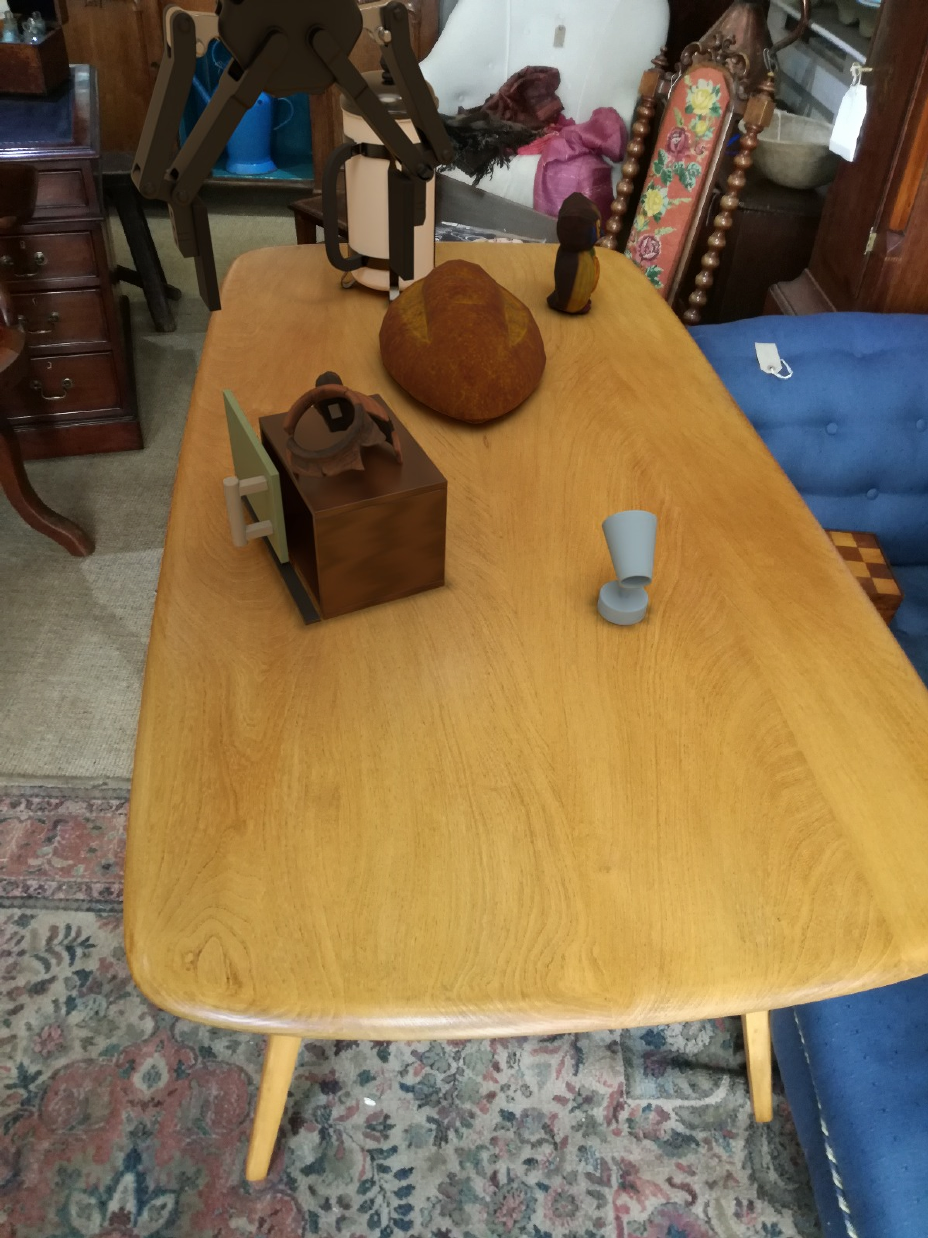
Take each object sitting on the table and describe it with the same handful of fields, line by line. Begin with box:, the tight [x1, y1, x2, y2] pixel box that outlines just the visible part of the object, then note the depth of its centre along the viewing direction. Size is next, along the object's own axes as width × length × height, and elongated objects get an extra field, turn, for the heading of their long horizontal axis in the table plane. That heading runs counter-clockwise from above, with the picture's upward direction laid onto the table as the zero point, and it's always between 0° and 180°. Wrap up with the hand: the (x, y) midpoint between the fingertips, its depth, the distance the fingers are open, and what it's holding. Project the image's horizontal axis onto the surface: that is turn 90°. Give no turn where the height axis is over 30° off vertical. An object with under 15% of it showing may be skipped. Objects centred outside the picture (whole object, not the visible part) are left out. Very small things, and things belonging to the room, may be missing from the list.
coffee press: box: [321, 55, 440, 305], centre depth 126 cm, size 17×16×30 cm
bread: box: [378, 258, 547, 424], centre depth 115 cm, size 21×33×12 cm, turn 2°
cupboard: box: [241, 393, 449, 626], centre depth 89 cm, size 14×21×12 cm, turn 26°
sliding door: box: [222, 388, 290, 563], centre depth 89 cm, size 5×16×10 cm, turn 26°
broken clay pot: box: [283, 370, 403, 479], centre depth 80 cm, size 12×10×8 cm
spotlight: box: [596, 509, 658, 626], centre depth 84 cm, size 5×10×7 cm
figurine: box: [546, 191, 606, 315], centre depth 129 cm, size 10×7×15 cm
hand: (309, 287), depth 64 cm, fingers open, 13 cm apart
